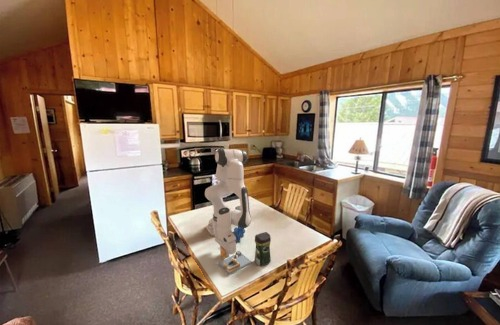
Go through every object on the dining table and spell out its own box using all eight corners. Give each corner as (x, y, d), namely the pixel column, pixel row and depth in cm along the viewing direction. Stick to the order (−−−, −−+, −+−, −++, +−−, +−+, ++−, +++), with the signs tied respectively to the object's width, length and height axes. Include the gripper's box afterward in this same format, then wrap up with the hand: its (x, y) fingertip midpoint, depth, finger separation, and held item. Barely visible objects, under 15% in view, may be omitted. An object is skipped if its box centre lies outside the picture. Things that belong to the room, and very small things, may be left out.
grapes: (242, 236, 160) (242, 221, 158) (246, 240, 154) (246, 225, 152) (228, 240, 154) (228, 225, 152) (232, 245, 148) (232, 229, 146)
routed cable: (224, 260, 131) (224, 257, 130) (238, 253, 138) (238, 250, 137) (230, 265, 126) (229, 262, 125) (244, 258, 133) (244, 255, 132)
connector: (220, 255, 137) (220, 246, 135) (225, 253, 139) (225, 243, 138) (223, 258, 134) (223, 249, 132) (229, 256, 136) (228, 246, 135)
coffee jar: (264, 255, 137) (265, 229, 133) (272, 262, 130) (273, 234, 127) (252, 260, 132) (252, 233, 128) (259, 268, 125) (260, 239, 122)
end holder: (223, 266, 125) (222, 263, 124) (233, 261, 130) (233, 257, 129) (229, 273, 120) (229, 269, 119) (240, 267, 124) (240, 263, 124)
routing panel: (217, 264, 128) (217, 263, 128) (240, 253, 139) (240, 252, 139) (228, 275, 119) (228, 273, 119) (251, 262, 130) (251, 261, 130)
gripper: (211, 228, 139) (212, 247, 142) (229, 242, 124) (229, 263, 126) (220, 225, 143) (220, 244, 146) (237, 238, 128) (237, 259, 130)
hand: (224, 253), depth 136 cm, fingers closed on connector, 4 cm apart
